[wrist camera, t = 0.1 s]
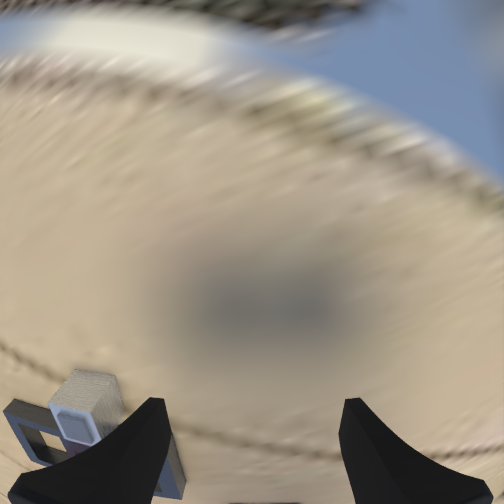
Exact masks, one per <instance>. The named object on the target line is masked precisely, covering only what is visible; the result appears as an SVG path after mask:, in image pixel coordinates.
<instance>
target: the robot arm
mask: <svg viewBox="0 0 504 504" xmlns="http://www.w3.org/2000/svg"><path fill="white" fill-rule="evenodd" d="M338 434H339V441H340V447H341V453H342V457H343V461H344V464H345V467H346V471H347V474H348V477H349V481H350V484H351V488H352V491H353V494H354V499H355V503H356V504H491V503H492V501H493V495H492V493H491V491H490V489H489V488H488V486H487V484H486V483H485V481H484V480H482V479H478V478H474V477H471V476H467V475H464V474H461V473H459V472H456V471H453V470H451V469H449V468H446V467H444V466H442V465H440V464H438V463H436V462H434V461H433V460H431V459H429V458H427V457H426V456H424V455H422V454H421V453H419V452H418V451H416V450H415V449H413V448H412V447H411V446H409V445H408V444H407V443H405V442H404V441H403V440H402V439H401V438H399V437H398V436H397V435H396V434H395V433H394V432H393V431H392V430H391V429H389V428H388V427H387V426H386V425H385V424H384V423H383V422H382V421H381V420H380V419H379V418H378V417H377V416H376V414H375V413H374V412H373V411H372V410H371V409H370V408H369V407H368V406H367V405H366V404H365V402H364V401H363V400H362V399H361V398H352V399H345V403H344V408H343V414H342V419H341V424H340V429H339V433H338ZM171 435H172V431H171V427H170V423H169V419H168V415H167V410H166V406H165V401H164V399H162V398H152V397H150V398H149V399H147V400H146V401H145V402H144V403H143V404H142V405H141V406H140V407H139V408H138V409H137V410H136V411H135V412H134V413H133V414H132V415H131V416H129V417H128V418H127V419H126V420H125V421H124V422H123V423H122V424H120V425H119V426H118V427H117V428H116V429H115V430H113V431H112V432H111V433H110V434H108V435H107V436H106V437H104V438H103V439H102V440H100V441H99V442H98V443H96V444H95V445H93V446H91V447H90V448H88V449H86V450H85V451H83V452H81V453H79V454H77V455H75V456H73V457H71V458H69V459H67V460H65V461H62V462H60V463H57V464H55V465H52V466H49V467H46V468H43V469H39V470H35V471H31V472H26V473H21V475H20V476H19V477H18V479H17V480H16V482H15V483H14V485H13V486H12V488H11V489H10V491H9V492H8V498H9V500H10V502H11V503H12V504H151V500H152V497H153V494H154V491H155V488H156V485H157V482H158V480H159V477H160V474H161V471H162V468H163V466H164V463H165V460H166V457H167V454H168V450H169V445H170V440H171Z"/></svg>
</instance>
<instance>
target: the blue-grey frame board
mask: <svg viewBox="0 0 504 504" xmlns="http://www.w3.org/2000/svg"><path fill="white" fill-rule="evenodd" d="M3 413H4V415H5V417H6V418H7V420H8V422H9V424H10V426H11V428H12V430H13V431H14V433H15V435H16V437H17V438H18V440H19V442H20V443H21V445H22V447H23V448H24V450H25V452H26V453H27V455H28V457H29V458H30V460H31V461H33V462H36V463H38V464H41V465H43V466H46V467H49V466H52V465H55V464H57V463H60V462H62V461H65V460H67V459H69V458H71V457H73V456H75V455H77V454H79V453H81V452H83V451H85V450H86V449H88V448H90V447H91V446H88V445H85V444H81V443H77V442H73V441H70V440H66V439H64V437H63V435H62V433H61V431H60V429H59V427H58V425H57V423H56V420H55V418H54V416H53V414H52V412H51V410H49V409H45V408H42V407H38V406H35V405H32V404H29V403H25V402H22V401H19V400H16V399H14V400H13V401H12V402H11V403H10V404H9V405H8V406H7V407H6V408H5V409H4V410H3ZM118 426H119V425H118ZM38 430H40V431H43V432H46V433H49V434H52V435H55V436H58V437H60V439H61V441H62V443H63V445H64V447H65V449H66V451H67V452H68V453H66V452H63V451H60V450H57V449H54V448H51V447H48V446H47V445H46V443H45V442H44V440H43V438H42V436H41V434H40V432H39V431H38ZM185 484H186V481H185V477H184V474H183V470H182V467H181V464H180V460H179V456H178V453H177V449H176V445H175V442H174V438H173V434H172V435H171V440H170V445H169V450H168V454H167V457H166V460H165V463H164V466H163V468H162V471H161V474H160V477H159V480H158V482H157V485H156V488H155V491H154V494H153V496H159V497H165V498H172V499H179V500H182V497H183V493H184V488H185Z"/></svg>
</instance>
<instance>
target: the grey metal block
mask: <svg viewBox="0 0 504 504" xmlns="http://www.w3.org/2000/svg"><path fill="white" fill-rule="evenodd" d="M48 405H49V407H50V409H51V412H52V414H53V416H54V418H55V420H56V423H57V425H58V427H59V429H60V431H61V433H62V435H63V437H64V439H66V440H70V441H73V442H77V443H81V444H85V445H88V446H93V445H95V444H96V443H98V442H99V441H100V440H102V439H103V438H104V437H106V436H107V435H108V434H110V433H111V432H112V431H113V430H115V429H116V428H117V427H118V425H119V423H120V421H121V419H122V417H123V415H124V413H125V412H126V411H125V408H124V405H123V402H122V398H121V395H120V392H119V388H118V385H117V381H116V378H115V375H108V374H101V373H94V372H88V371H81V370H76V369H75V370H74V372H73V373H72V374H71V375H70V376H69V377H68V379H67V380H66V381H65V382H64V383H63V385H62V386H61V387H60V388H59V389H58V391H57V392H56V393H55V394H54V395H53V397H52V398H51V399H50V400H49V401H48Z"/></svg>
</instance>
